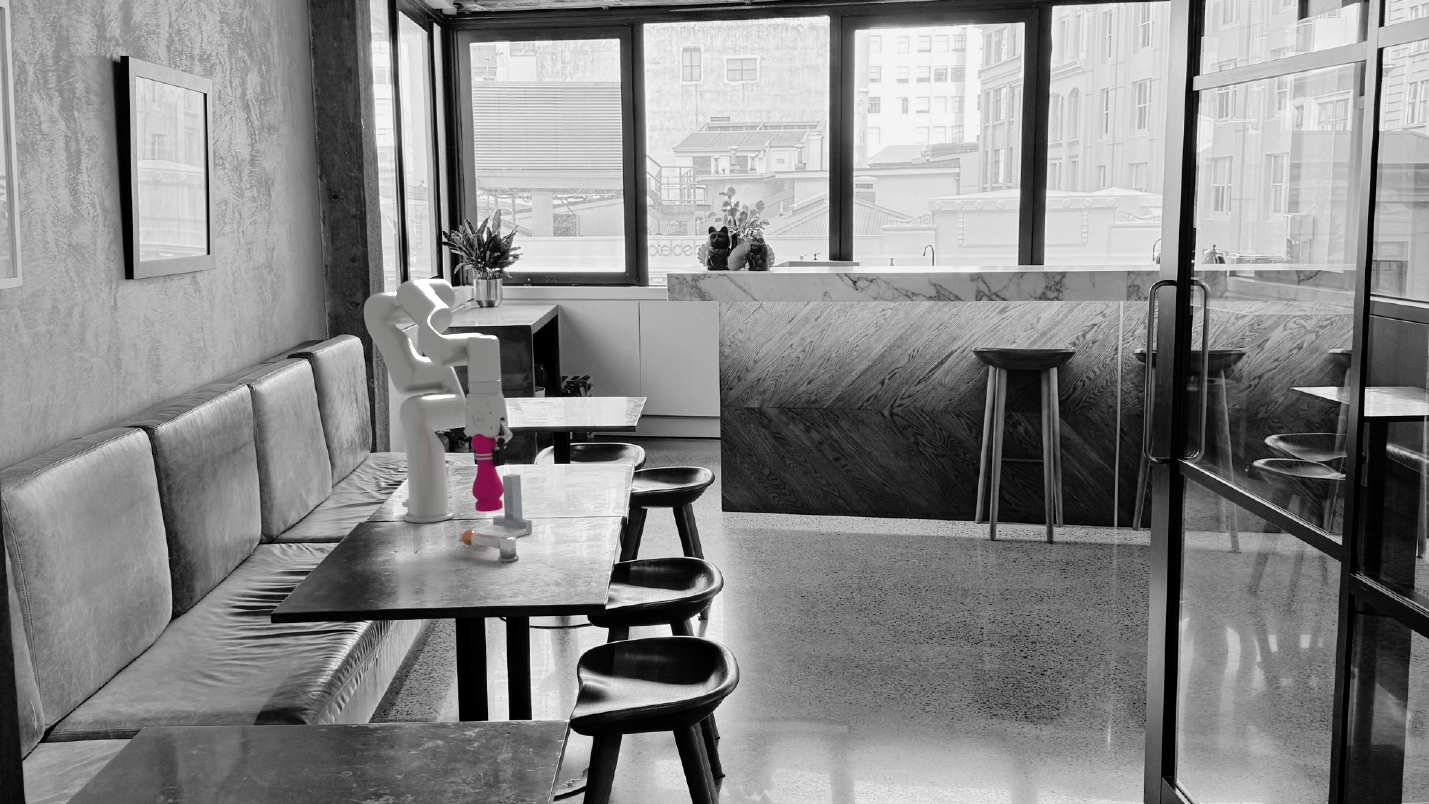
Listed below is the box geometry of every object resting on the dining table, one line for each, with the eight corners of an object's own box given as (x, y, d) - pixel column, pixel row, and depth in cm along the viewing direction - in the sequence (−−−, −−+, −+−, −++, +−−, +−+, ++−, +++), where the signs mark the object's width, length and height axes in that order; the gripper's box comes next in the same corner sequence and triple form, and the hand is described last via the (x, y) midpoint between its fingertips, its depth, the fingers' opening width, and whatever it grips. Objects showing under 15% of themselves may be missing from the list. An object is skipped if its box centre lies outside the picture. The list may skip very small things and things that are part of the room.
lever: (519, 555, 258) (519, 535, 257) (508, 558, 255) (507, 539, 254) (470, 546, 267) (469, 527, 266) (458, 549, 264) (457, 531, 263)
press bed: (428, 548, 269) (424, 492, 267) (508, 524, 290) (505, 473, 288) (508, 563, 254) (505, 504, 253) (586, 537, 275) (584, 483, 273)
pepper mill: (498, 512, 272) (492, 426, 269) (468, 512, 273) (462, 427, 271) (509, 505, 279) (503, 422, 276) (480, 505, 280) (474, 422, 278)
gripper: (447, 388, 275) (452, 464, 278) (499, 391, 265) (504, 470, 268) (471, 384, 281) (475, 459, 284) (523, 388, 271) (527, 465, 274)
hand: (489, 463), depth 276 cm, fingers closed on pepper mill, 5 cm apart
